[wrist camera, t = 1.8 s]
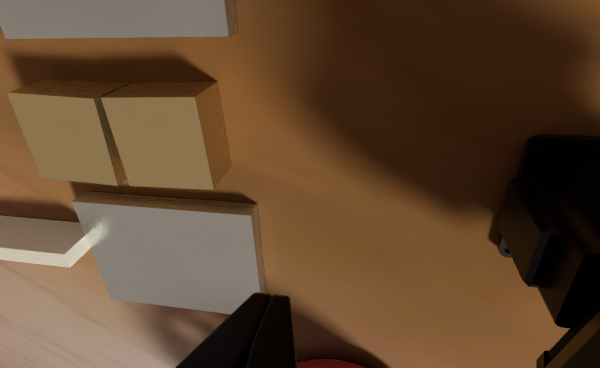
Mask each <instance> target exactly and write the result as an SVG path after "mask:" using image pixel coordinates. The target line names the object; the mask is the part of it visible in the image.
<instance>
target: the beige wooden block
mask: <svg viewBox="0 0 600 368" xmlns="http://www.w3.org/2000/svg"><path fill="white" fill-rule="evenodd" d="M126 86H128V83H113V82H96V81H80V80H64V79H47V80H44V81H41V82H38V83H35V84H32V85H29V86H26V87H22V88H19V89H16V90H13V91H10V92H7V94H8V96H9V99H10V101H11V104H12V106H13V109H14V111H15V114H16V116H17V119H18V121H19V124H20V126H21V129H22V131H23V134H24V136H25V139H26V142H27V144H28V147H29V149H30V152H31V154H32V157H33V159H34V162H35V164H36V167H37V169H38V172H39V174H40V177H43V178H52V179H61V180H70V181H78V182H87V183H96V184H105V185H114V186H119V185H120V184H121V183H122V182H123V181H125V180H126V179H127V176H126V173H125V170H124V167H123V164H122V161H121V158H120V155H119V152H118V149H117V146H116V143H115V140H114V137H113V134H112V130H111V127H110V124H109V121H108V118H107V115H106V112H105V109H104V106H103V103H102V100H101V97H103V96H106V95H108V94H110V93H112V92H115V91H117V90H119V89H121V88H123V87H126Z"/></svg>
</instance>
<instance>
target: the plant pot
mask: <svg viewBox="0 0 600 368" xmlns="http://www.w3.org/2000/svg"><path fill="white" fill-rule="evenodd" d="M297 368H366V367H363V366H360V365H357V364H354V363H350V362H346V361H340V360H333V359H315V360H308V361H302V362H298V363H297Z"/></svg>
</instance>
